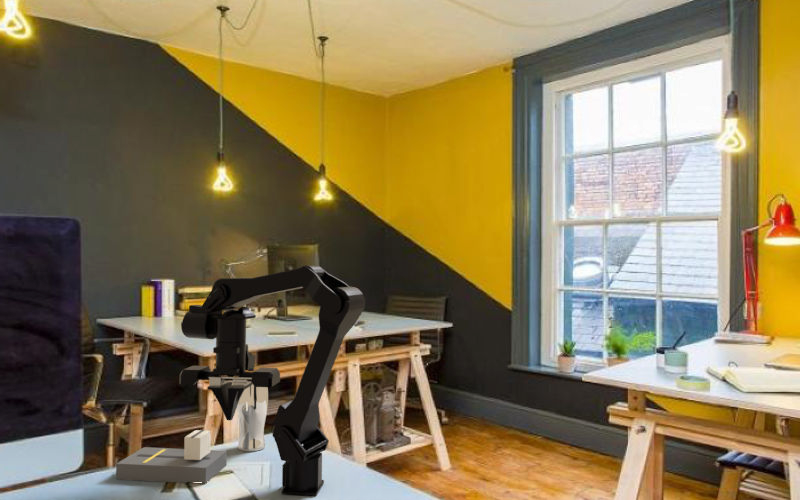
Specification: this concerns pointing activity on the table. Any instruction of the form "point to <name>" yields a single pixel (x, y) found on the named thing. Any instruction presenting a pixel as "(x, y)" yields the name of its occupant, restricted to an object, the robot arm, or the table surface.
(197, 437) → the fader tab
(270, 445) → the table surface
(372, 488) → the table surface
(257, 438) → the beer glass
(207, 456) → the fader console
